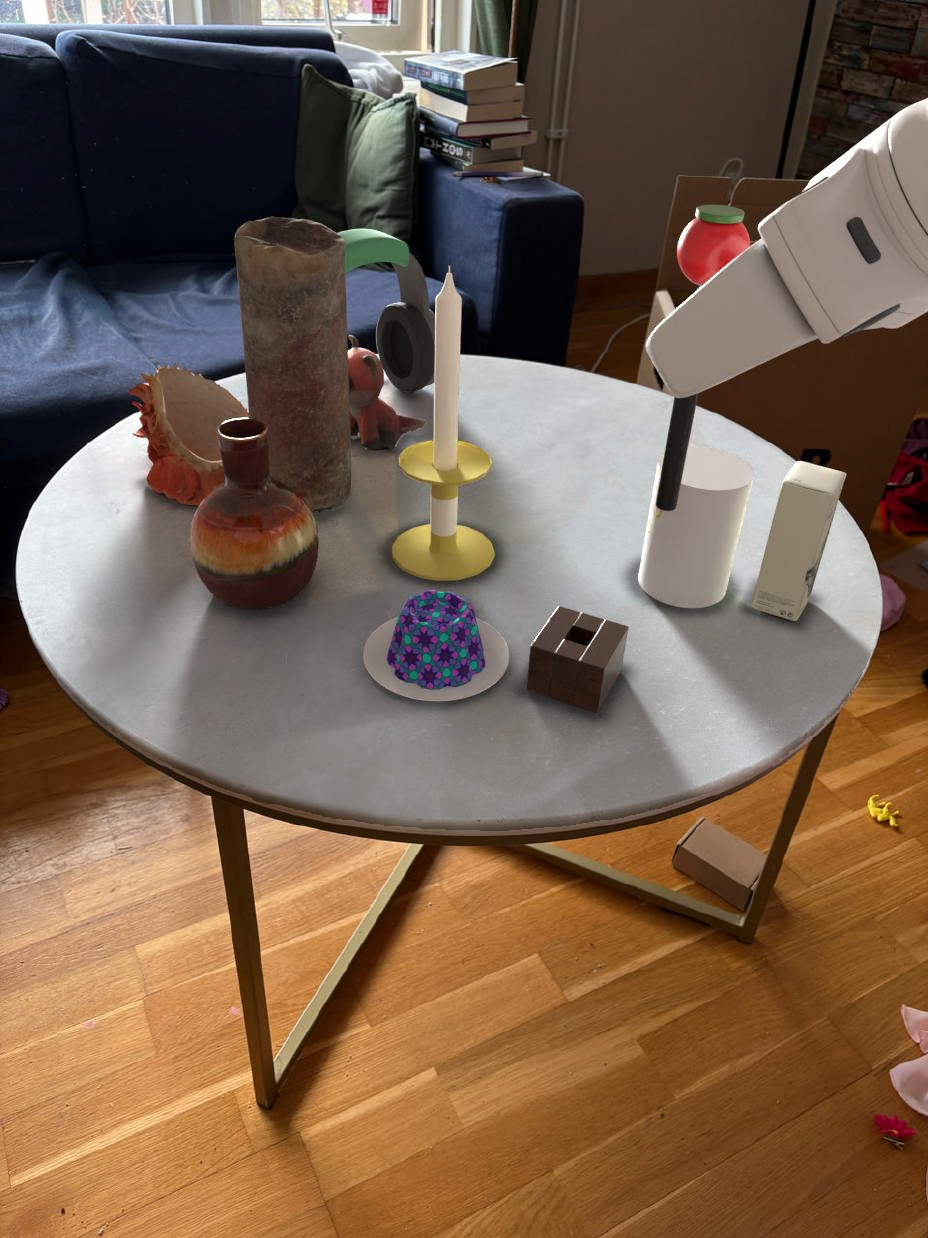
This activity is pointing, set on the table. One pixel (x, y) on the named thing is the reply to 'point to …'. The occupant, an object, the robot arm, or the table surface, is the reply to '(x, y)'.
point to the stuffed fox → (373, 403)
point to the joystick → (700, 259)
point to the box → (797, 539)
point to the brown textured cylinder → (298, 352)
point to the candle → (444, 468)
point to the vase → (252, 526)
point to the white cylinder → (696, 530)
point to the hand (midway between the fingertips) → (682, 368)
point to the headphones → (398, 310)
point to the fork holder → (576, 658)
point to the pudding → (436, 650)
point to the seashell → (184, 431)
